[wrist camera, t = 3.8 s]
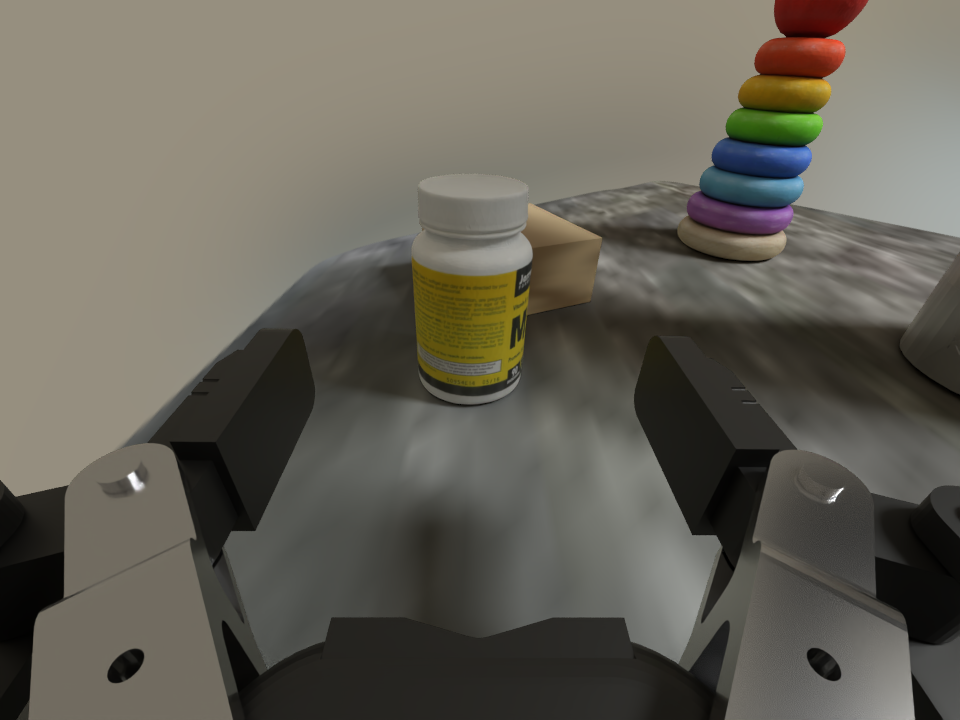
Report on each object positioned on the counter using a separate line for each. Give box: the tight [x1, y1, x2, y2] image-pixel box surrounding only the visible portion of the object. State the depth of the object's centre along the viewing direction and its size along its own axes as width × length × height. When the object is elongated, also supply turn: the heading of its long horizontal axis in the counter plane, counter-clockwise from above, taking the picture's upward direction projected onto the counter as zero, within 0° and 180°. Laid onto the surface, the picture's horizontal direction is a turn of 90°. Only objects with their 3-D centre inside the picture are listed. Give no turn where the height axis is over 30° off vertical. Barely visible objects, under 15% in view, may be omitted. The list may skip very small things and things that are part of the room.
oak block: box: [422, 203, 602, 315], centre depth 27 cm, size 8×8×4 cm
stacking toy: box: [678, 0, 868, 261], centre depth 31 cm, size 8×8×19 cm
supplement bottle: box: [412, 174, 533, 404], centre depth 18 cm, size 5×5×8 cm
